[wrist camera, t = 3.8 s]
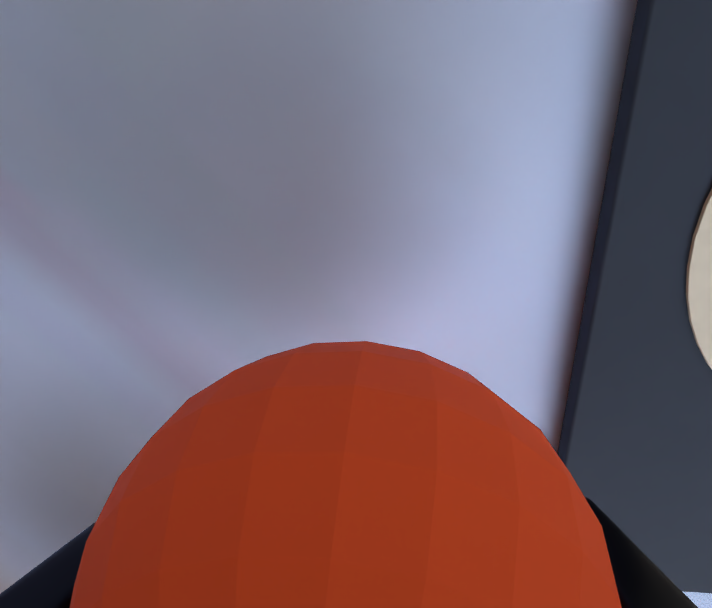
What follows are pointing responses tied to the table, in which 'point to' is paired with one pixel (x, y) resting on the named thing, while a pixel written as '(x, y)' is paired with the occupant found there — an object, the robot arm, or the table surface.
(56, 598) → the robot arm
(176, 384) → the table surface
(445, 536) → the clementine
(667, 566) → the placemat
